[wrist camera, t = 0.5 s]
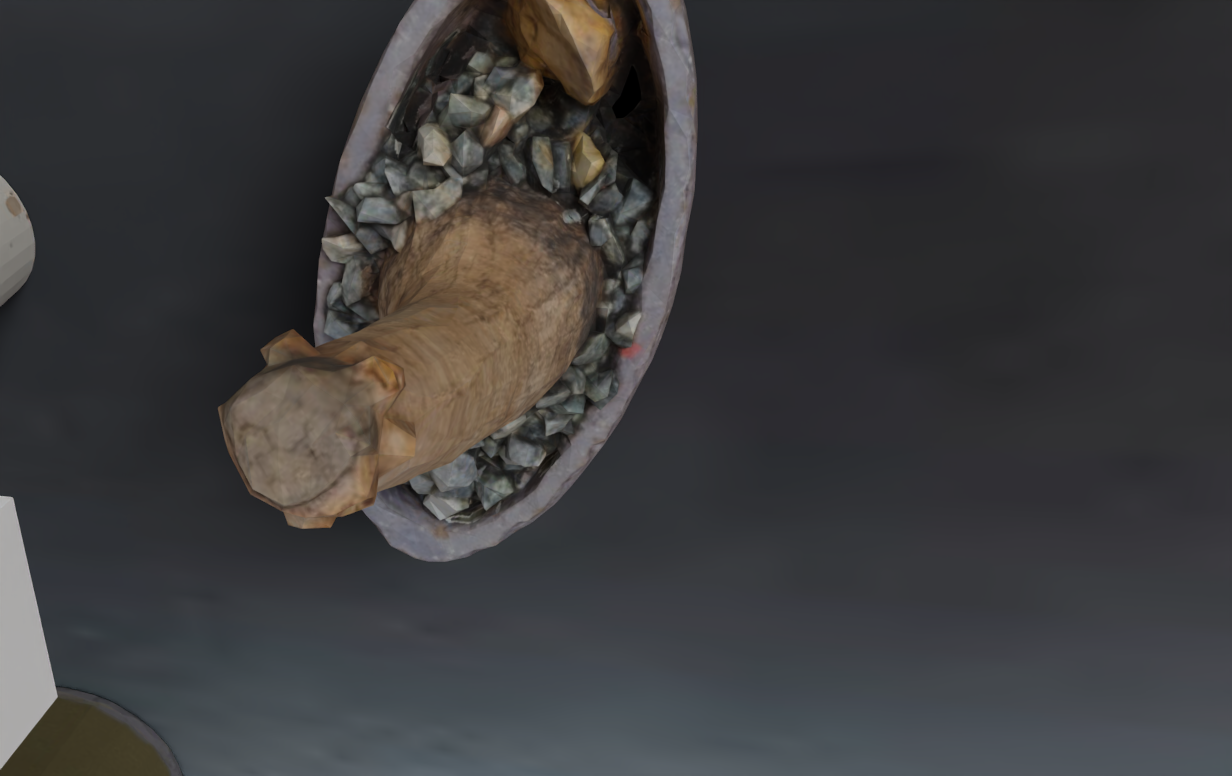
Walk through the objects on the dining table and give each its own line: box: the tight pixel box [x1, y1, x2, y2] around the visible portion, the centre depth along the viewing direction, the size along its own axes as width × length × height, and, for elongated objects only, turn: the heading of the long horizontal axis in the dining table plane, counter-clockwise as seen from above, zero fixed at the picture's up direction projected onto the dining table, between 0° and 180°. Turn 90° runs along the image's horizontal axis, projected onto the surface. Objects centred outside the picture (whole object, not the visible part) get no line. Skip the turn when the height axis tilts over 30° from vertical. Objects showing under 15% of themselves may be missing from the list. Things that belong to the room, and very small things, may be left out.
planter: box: [218, 0, 698, 562], centre depth 28 cm, size 15×17×20 cm
